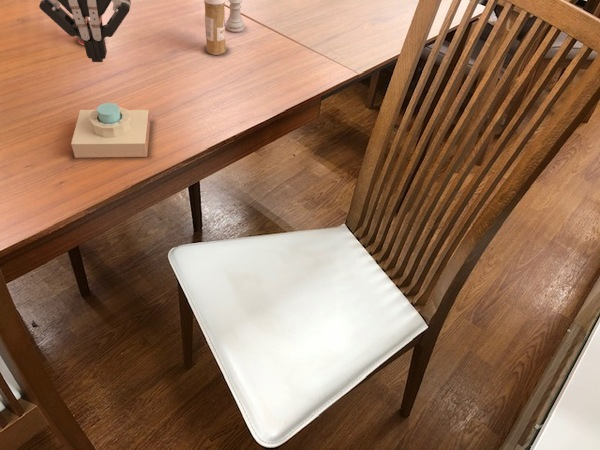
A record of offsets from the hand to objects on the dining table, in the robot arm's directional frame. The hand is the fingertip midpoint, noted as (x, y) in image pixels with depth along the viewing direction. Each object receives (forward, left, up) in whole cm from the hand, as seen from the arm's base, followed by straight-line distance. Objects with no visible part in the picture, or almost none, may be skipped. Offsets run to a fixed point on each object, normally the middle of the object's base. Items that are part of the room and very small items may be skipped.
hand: (98, 59), depth 80 cm
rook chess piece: (+24, +44, -16) cm, 52 cm away
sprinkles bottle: (+19, +33, -16) cm, 41 cm away
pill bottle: (-9, +36, -16) cm, 40 cm away
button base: (0, 0, -16) cm, 16 cm away
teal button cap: (0, 0, -11) cm, 11 cm away
